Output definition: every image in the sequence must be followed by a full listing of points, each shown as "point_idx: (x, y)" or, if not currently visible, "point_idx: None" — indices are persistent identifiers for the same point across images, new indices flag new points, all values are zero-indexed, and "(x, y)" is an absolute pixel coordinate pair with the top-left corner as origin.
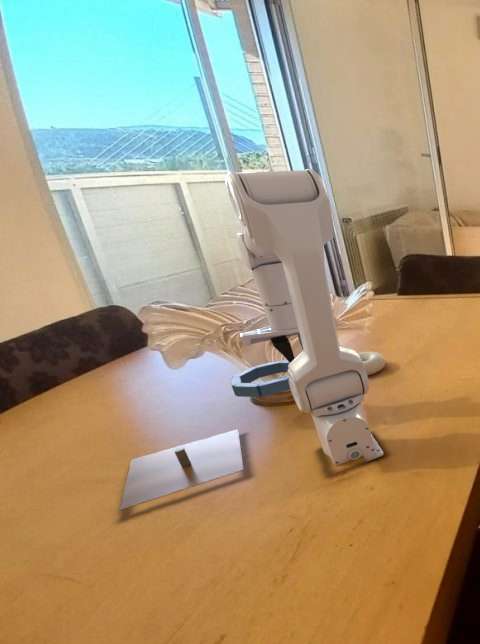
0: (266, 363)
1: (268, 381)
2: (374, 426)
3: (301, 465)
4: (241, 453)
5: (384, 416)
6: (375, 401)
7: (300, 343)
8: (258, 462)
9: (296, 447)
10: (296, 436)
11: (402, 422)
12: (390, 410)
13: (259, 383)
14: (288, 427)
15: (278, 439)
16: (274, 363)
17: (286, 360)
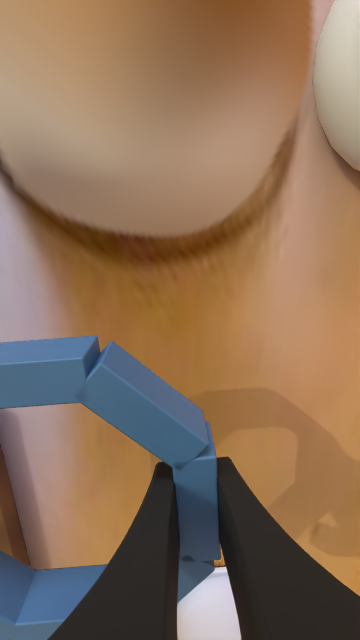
0: (5, 370)
1: (48, 627)
2: (290, 535)
3: None
4: (11, 547)
5: (324, 503)
6: (336, 406)
7: (250, 587)
8: (50, 548)
9: (124, 531)
10: (125, 482)
11: (346, 552)
12: (347, 482)
13: (11, 626)
14: (106, 423)
15: (85, 473)
16: (54, 401)
17: (121, 392)
